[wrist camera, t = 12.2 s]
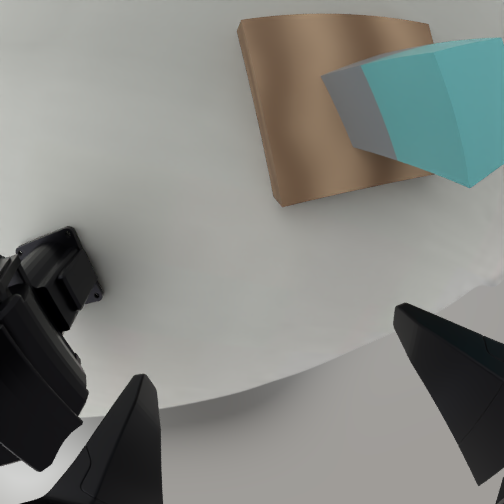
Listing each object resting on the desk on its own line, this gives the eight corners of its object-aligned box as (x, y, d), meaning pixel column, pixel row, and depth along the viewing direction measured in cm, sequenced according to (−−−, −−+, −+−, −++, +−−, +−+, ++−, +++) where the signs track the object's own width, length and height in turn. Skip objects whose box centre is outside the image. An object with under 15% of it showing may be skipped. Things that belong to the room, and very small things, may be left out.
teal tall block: (353, 147, 17) (469, 188, 8) (320, 75, 15) (433, 52, 6) (408, 120, 17) (526, 146, 8) (381, 53, 15) (501, 37, 6)
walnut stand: (273, 196, 21) (282, 207, 18) (236, 31, 15) (241, 20, 13) (428, 165, 21) (447, 171, 19) (409, 28, 16) (428, 24, 13)
